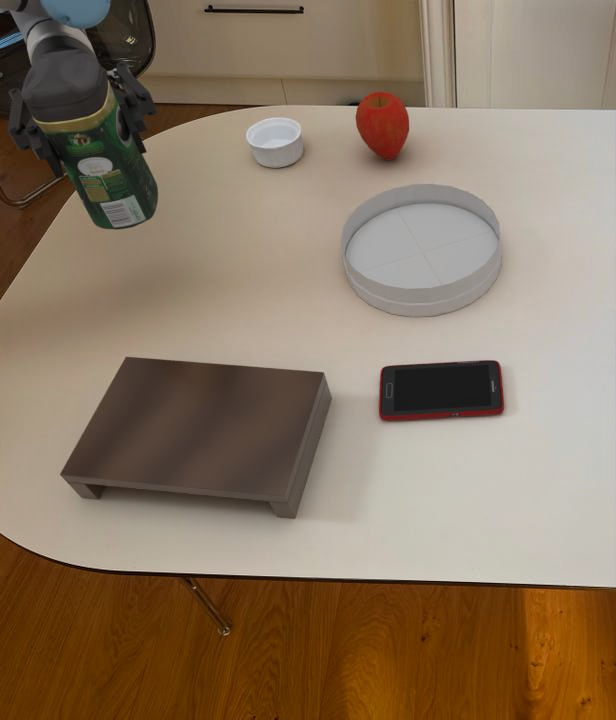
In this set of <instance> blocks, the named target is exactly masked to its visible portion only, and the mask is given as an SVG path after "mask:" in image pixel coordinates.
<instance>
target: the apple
mask: <svg viewBox="0 0 616 720" xmlns="http://www.w3.org/2000/svg"><path fill="white" fill-rule="evenodd" d="M355 112H356V113H355V125H356V126H355V127H356V128H357V130H358V133H359V136H360V137H361V140H362V141H363V142H364V144H365V145H366V146H367V147H368V149H370V150H371V151H372V152H373V153H374V154H375V155H377V156H378V157H379V158H381V159H382V160H385V161H387V160H394V159H396V158H397V156H398V155H399V153H400V152H401V151H402V149H403V147H404V146H405V143H406V141H407V138H408V135H409V132H410V117H409V113H408V110H407V107H406V106H405V103H404V102H403V101H402V100H401V98H400V97H398V96H397V95H396V94H393V93H390V92H383V91H377V92H372V93H369V94H368V95H366V96H364V98H362V100H361V101H360V102H359V104H358V106H357V108H356V111H355Z"/></svg>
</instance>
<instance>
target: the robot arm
mask: <svg viewBox="0 0 616 720" xmlns="http://www.w3.org/2000/svg"><path fill="white" fill-rule="evenodd" d="M110 7H111V0H0V10H2V11H8V12H9V13H10V14H11V16H12V18H13V20H14V22H15V24H16V26H17V28H18V30H19V32H20V33H21V36H22V38H23V40H24V43H25V46H26V49H27V54H28V58H29V61H30V62H29V63H30V64H31V67H32V66H33V65H34V64H35V63H36V62H37V61H38V60H39V59H40V58H41V56H42V55H43V54H46V53H52V52H59V51H67V50H77V49H78V50H81V51H83V52H85V53H87V54H89V55H91V56H93V57H94V58H95V59H96V60H97V61H98V62H99V60H98V58H97V56H96V55H97V54H96V53H95V50H94V48H93V46H92V43H91V41H90V40H89V37H88V35H87V31H86V29H91V28H93V27H95V26H97V25H99V24H100V23H102V21H103V20H104V19H106V17H107V15H108V13H109V10H110ZM102 69H103V71H104V73H105V74H106V76H107V78H108V80H109V83H110V85H111V83H114V84H115V85H118V86H119V89H121V90H123V89H124V91H125V92H122V91H121V90H119V89H117V88H115V87H113V86H111V88H112V90H113V93H114V95H115V98H116V100H117V102H118V105H119V107H120V109H121V111H122V114H123V116H124V119H125V121H126V123H127V126H128V128H129V130H130V133H131V135H132V137H133V139H134V142H135V144H136V146H137V148H138V151H139V153H140V154H142V155H143V154H146V153H148V151H147V149H146V147H145V144H144V142H143V139H142V137H141V135H140V133H144V132H147V131H148V129H149V127H148V125H147V123H146V120H145V118H144V117H145V116H146V115H148V116H154V115H157V113H158V110H157V107H156V104H155V102H154V100H153V99H154V98H153V97H152V95H151V92H150V91H149V90H148V89H147V88H146V87H145V86H144V85H143V84H142V83H141V82H140V81H139V80H138V79H137V78H136V77H135V76H134V75H133V74H132V73H131V70H130V68H129V65H128V63H127V61H120V62H118V63H117V64H116V67H114V68H113V69H111V70H106V69H105V68H104V67H102ZM8 94H9V96H10V98H11V99H12V101H11V106H10V112H9V117H8V124H7V132H8V134H9V136H10V137H11V139H12V140H13V142H14V144H15V146H16V147H17V149H18V150H19V151H22V152H23V151H27V150H29V149H30V147H31V149H32V151H33V153H34V154H35V156H36V158H37V159H38V160H40V161H42V160H45V161H46V162H47V164H48V166H49V168H50V169H51V171H52V173H53V175H54V176H55V178H56V179H57V180H58V179H61V178H64V177H65V175H64V170H63V166H62V163H61V161H60V159H59V157H58V156H57V154H56V152H55V150H54V148H53V147H52V145H51V143H50V142H49V140H48V138H47V137H46V135H45V134H44V132H43V131H42V129H41V128H40V127H39V126H38V124H37V123H36V122H35V120H34V119H33V117H32V115H31V113H30V111H29V109H28V107H27V105H26V103H25V102H24V101H23V98H22V90H20V89H19V88H17V87H16V88H12V89H9V90H8Z"/></svg>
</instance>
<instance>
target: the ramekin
mask: <svg viewBox="0 0 616 720" xmlns="http://www.w3.org/2000/svg"><path fill="white" fill-rule="evenodd" d="M302 132H303V131H302V126H301V125H300V124H299V122H298V121H296V120H294V119H292V118H288V117H270V118H265V119H262V120H259V121H257V122H255V123H253V124H252V125H251V126H250V127H249V128H248V129H247V131H246V133H245V140H246V142H247V143H248V145H249V147H250V150H251V152H252V155H253V156H254V159H255V161H256V162H257V163H258V164H259V165H261V166H263V167H265V168H266V167H267V168H271V169H274V168H275V169H276V168H277V169H278V168H279V169H280V168H284V167H288V166H291V165H293V164H295V163H296V162H298V161H299V160H300V159H301V157H302V156H303V154H304V145H303V137H302V135H303V133H302Z"/></svg>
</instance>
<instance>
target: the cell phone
mask: <svg viewBox="0 0 616 720" xmlns="http://www.w3.org/2000/svg"><path fill="white" fill-rule="evenodd" d="M378 393H379V394H378V395H379V396H378V415H379V418H380V419H381V420H382V421H403V420H404V421H405V420H418V419H422V420H423V419H438V418H451V417H473V416H490V415H491V416H492V415H499V414H502V413H503V412H504V409H505V399H504V388H503V377H502V369H501V363H500V362H499V361H497V360H496V359H494V360H493V359H483V360H482V359H481V360H465V361H464V360H463V361H448V362H447V361H445V362H430V363H429V362H428V363H413V364H412V363H411V364H409V363H407V364H393V365H385V366H383V367H381V370H380V373H379V391H378Z"/></svg>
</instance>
